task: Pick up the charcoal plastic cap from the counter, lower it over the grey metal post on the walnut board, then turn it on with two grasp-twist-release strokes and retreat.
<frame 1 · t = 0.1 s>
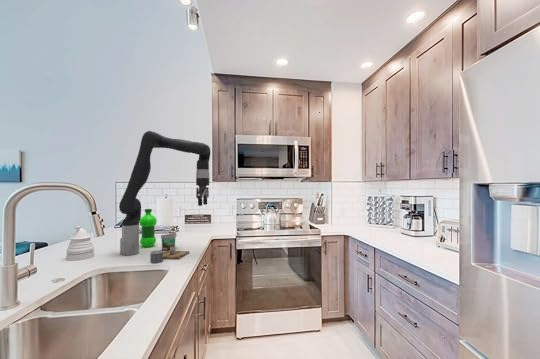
hand: (202, 205, 158), 29 cm above the worktop, tool pointing down, fingers open, 8 cm apart
stub board: (172, 255, 156), on the worktop
food container: (170, 249, 173), on the worktop
cap: (156, 261, 144), on the worktop
plastic bottle: (148, 246, 181), on the worktop
honey pot: (80, 258, 153), on the worktop
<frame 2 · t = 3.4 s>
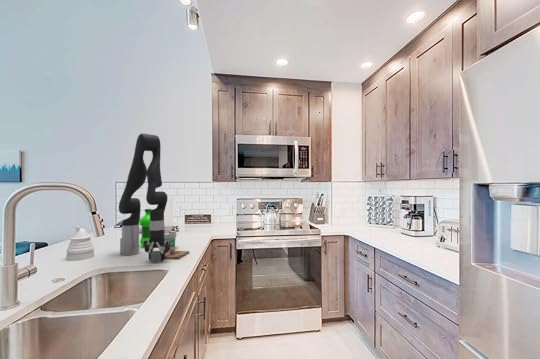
hand: (156, 260, 144), 1 cm above the worktop, tool pointing down, fingers closed on cap, 6 cm apart
cap: (156, 261, 144), on the worktop, touching gripper
everything else where it was.
when the fingers open (3 cm above the worktop, at t = 8.5 s): cap drops 1 cm, resting on stub board.
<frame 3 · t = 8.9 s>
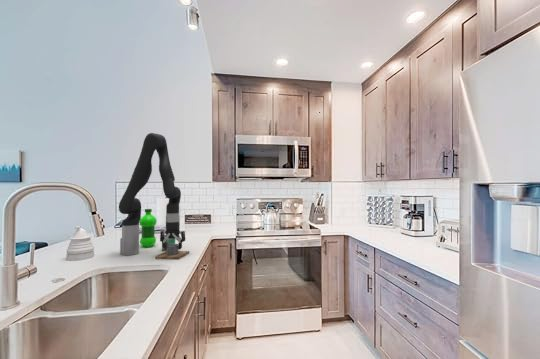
hand: (172, 249, 156), 4 cm above the worktop, tool pointing down, fingers open, 8 cm apart
cap: (172, 253, 156), point 1 cm above the worktop, touching stub board
everything else where it was.
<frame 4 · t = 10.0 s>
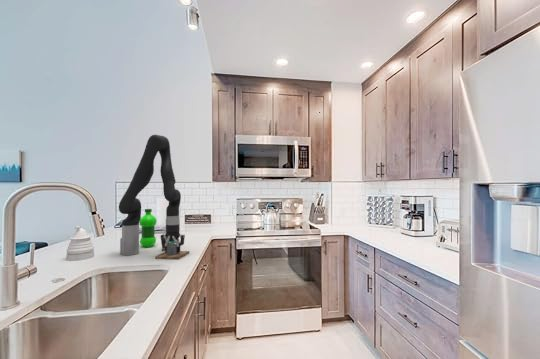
hand: (172, 252, 156), 2 cm above the worktop, tool pointing down, fingers closed on cap, 6 cm apart
cap: (172, 253, 156), point 1 cm above the worktop, touching gripper, stub board
everything else where it was.
when the fingers open (2 cm above the worktop, at t = 14.1 s): cap stays where it is, resting on stub board.
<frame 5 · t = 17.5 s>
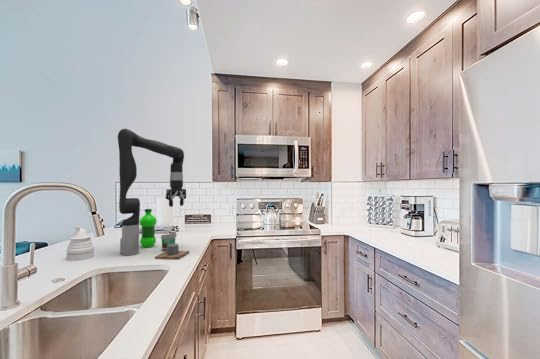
hand: (176, 206, 166), 28 cm above the worktop, tool pointing down, fingers open, 8 cm apart
cap: (172, 253, 156), point 1 cm above the worktop, touching stub board
everything else where it was.
at the end: cap 0.0 cm from the stub board (horizontally); cap point 1.2 cm above the worktop; the gripper is holding nothing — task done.
